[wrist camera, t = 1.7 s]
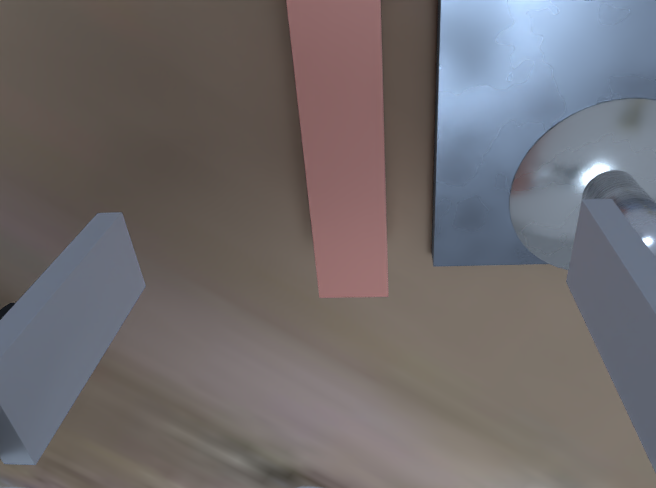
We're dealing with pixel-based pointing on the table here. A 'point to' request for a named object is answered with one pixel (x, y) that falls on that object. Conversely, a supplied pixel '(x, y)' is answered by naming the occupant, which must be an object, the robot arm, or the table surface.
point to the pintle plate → (536, 121)
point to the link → (343, 140)
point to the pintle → (627, 202)
